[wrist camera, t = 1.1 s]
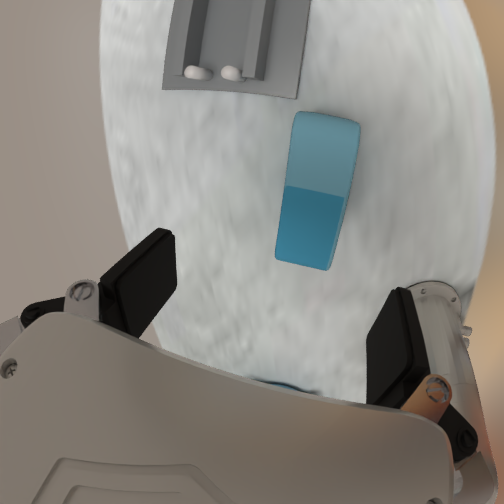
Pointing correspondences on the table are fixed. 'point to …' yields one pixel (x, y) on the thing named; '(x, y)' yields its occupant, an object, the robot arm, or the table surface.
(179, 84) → the tray
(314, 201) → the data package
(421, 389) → the robot arm
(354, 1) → the table surface
